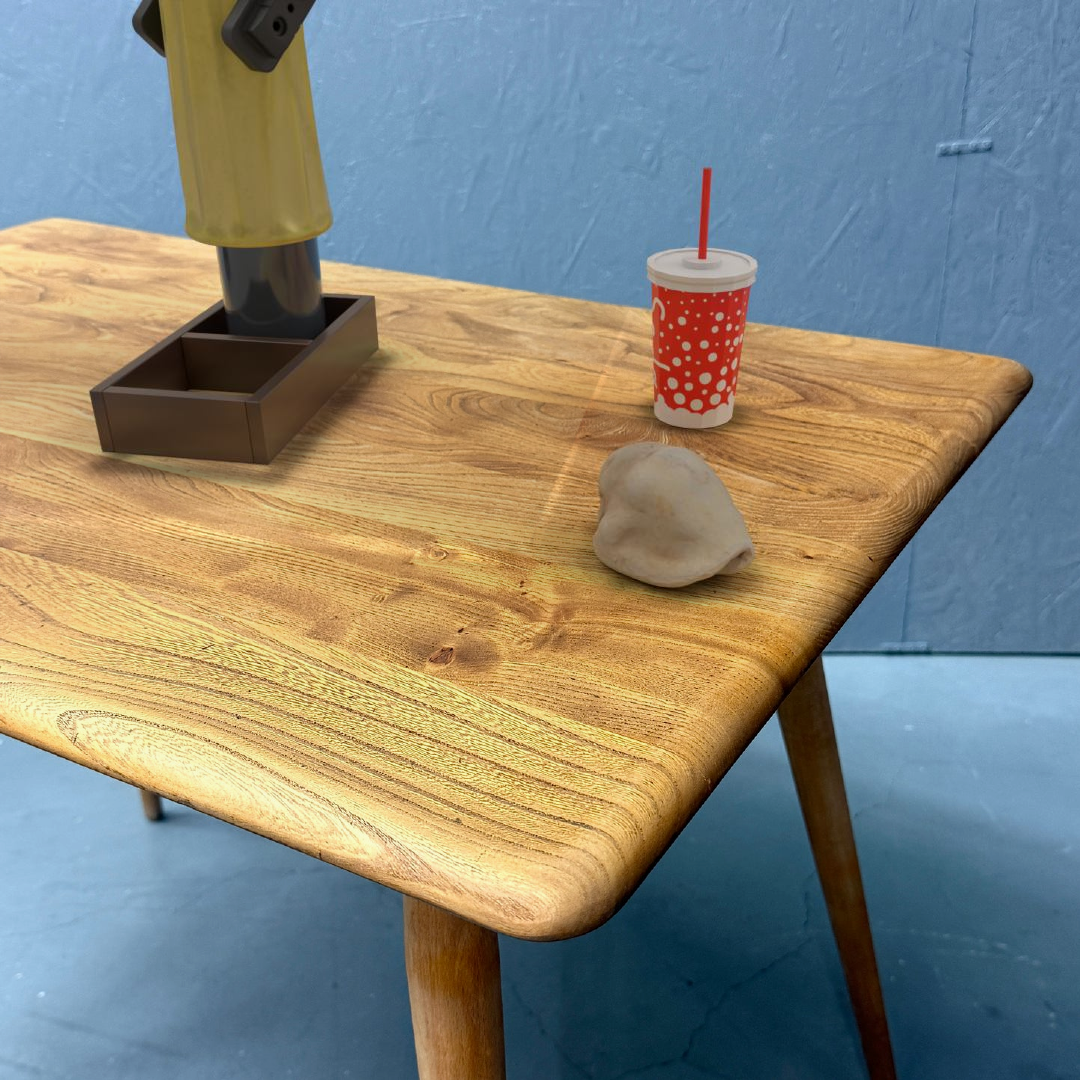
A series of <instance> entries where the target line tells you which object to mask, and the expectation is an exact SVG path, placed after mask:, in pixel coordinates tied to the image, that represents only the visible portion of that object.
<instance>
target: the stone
mask: <svg viewBox="0 0 1080 1080" xmlns="http://www.w3.org/2000/svg"><path fill="white" fill-rule="evenodd" d="M597 479H598V480H597V484H598V486H597V491H598V495H599V507H598V512H597V522H598V526H597V528H596V531H595V533H594V534H593V537H592V549H593V551H594V554H595V555H596V557H597V558H598V560H599V561H600V562H601V563H603V565H605V566H606V567H608V568H610V569H612V570H614V571H615V572H617V573H620V574H623V575H625V576H627V577H629V578H632V579H635V580H638V581H640V582H642V583H646V584H649V585H652V586H656V587H662V588H682V587H686V586H688V585H689V586H690V585H692V584H694V583H696V582H699V581H704V580H706V579H708V578H712V577H713V576H715V575H734V574H735V575H736V574H738V573H740V572H741V571H743V570H745V569H746V568H748V567H749V566H750V565H751V564H752V562H753V561H754V559H755V555H756V549H755V546H754V543H753V540H752V536H751V535H750V533H749V531H748V528H747V524H746V522H745V519H744V516H743V515H742V513H741V511H740V510H739V509H738V507H737V506H736V504H735V502H734V500H733V498H732V496H731V494H730V492H729V490H728V488H727V486H726V485H725V483H724V482H723V481H722V479H721V478H720V477H719V475H717V473H716V472H715V471H714V470H713V469H712V467H711V466H710V465H709V464H708V463H707V462H706V461H705V460H704V459H703V457H701V455H699V454H697V453H696V452H695V451H694V450H692V449H690V448H687V447H683V446H674V445H669V444H666V443H663V442H659V441H651V440H650V441H640V442H634V443H630V444H626V445H625V446H622V447H620V448H618V449H615V450H614V451H613V452H612V453H611V454H609V455H608V456H607V458H605V460H604V461H603V464H602V465H601V468H600V471H599V475H598V478H597Z"/></svg>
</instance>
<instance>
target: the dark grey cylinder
mask: <svg viewBox="0 0 1080 1080" xmlns="http://www.w3.org/2000/svg"><path fill="white" fill-rule="evenodd" d="M215 252H216V259H217V266H218V272H219V280H220V287H221V293H222V298H223V300H224V307H225V314H226V321H227V327H228V334H229V335H238V336H255V337H272V338H289V339H306V340H314V339H315V338H316V337H318V336H319V335H320V334H321V333H322V332H323V331H324V330H325V329H326V328H327V325H326V315H325V306H324V296H323V293H324V287H323V278H322V270H321V269H322V268H321V259H320V249H319V240H318V236H317V237H315V238H312V239H309V240H305V241H302V242H297V243H292V244H286V245H279V246H271V247H257V248H235V247H221V246H215Z"/></svg>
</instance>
